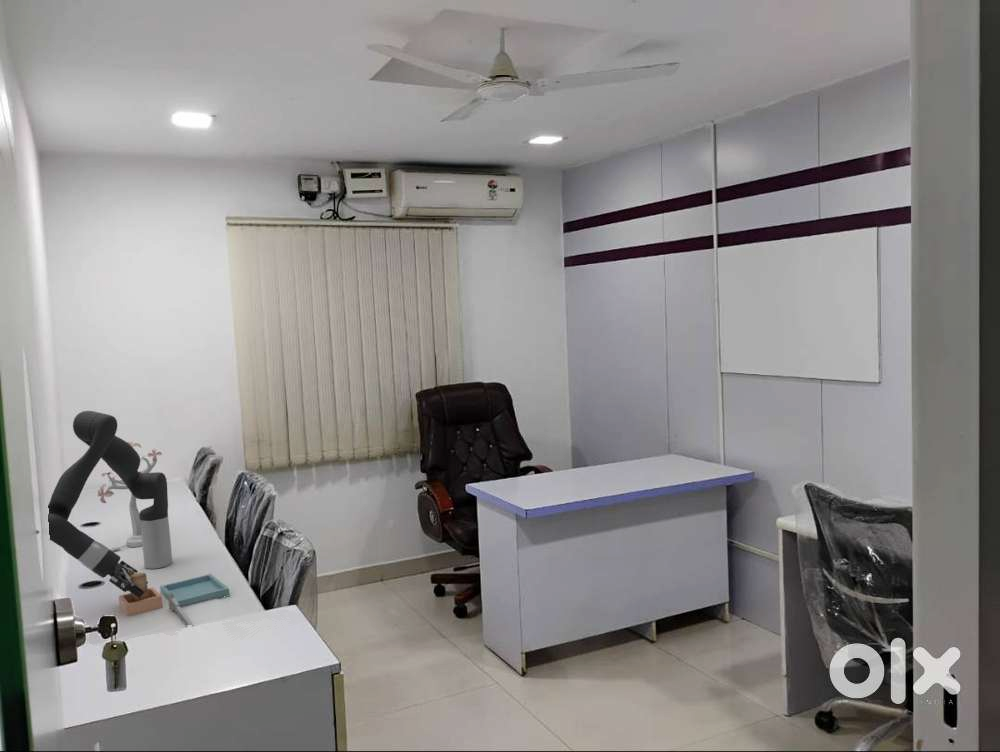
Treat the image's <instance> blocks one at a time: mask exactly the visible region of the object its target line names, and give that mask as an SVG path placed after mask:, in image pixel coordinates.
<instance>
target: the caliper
mask: <svg viewBox="0 0 1000 752" xmlns="http://www.w3.org/2000/svg"><path fill="white" fill-rule="evenodd" d="M167 600H168V609H169V610H170V612H174V613H176V614H178V616H179V617H180V619H181V620H182V622H184V624H185V625H186V626H187V625H193V626H194V624H193V622H192V621H191V619H190V618H189V617H188V616H187V614H186V613H185V612H184V610H183V609H182V607H180V606H179V603H178V602H177V601H176V599H175V598H174V594H173V592H170V593H169V595H168V599H167Z"/></svg>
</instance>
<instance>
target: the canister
mask: <svg viewBox="0 0 1000 752" xmlns="http://www.w3.org/2000/svg"><path fill="white" fill-rule="evenodd" d="M130 577H131V581H132V582H133V583H134V585H136V586H138V587H139V588H141V589H142V590H143V591H144V594H143V595H142V596H141V597H137V596H136V595H134V594H133V593H131V592H130V593H131V595H132V602H136V601H140V600H144V599H148V584H147V581H148V580H147V573H146V572H137V573H136V574H133V575H131V576H130Z"/></svg>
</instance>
